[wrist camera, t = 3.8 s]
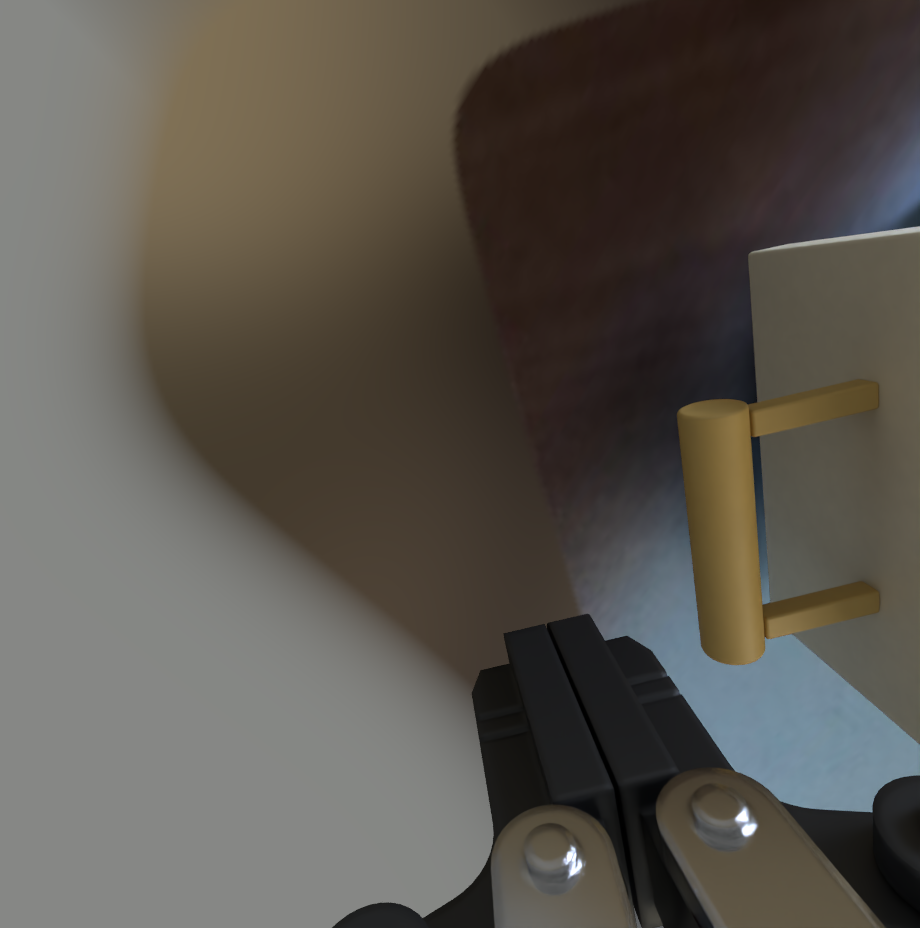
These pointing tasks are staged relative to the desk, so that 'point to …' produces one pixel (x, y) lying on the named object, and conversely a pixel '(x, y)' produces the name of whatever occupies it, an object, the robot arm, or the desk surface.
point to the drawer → (819, 470)
